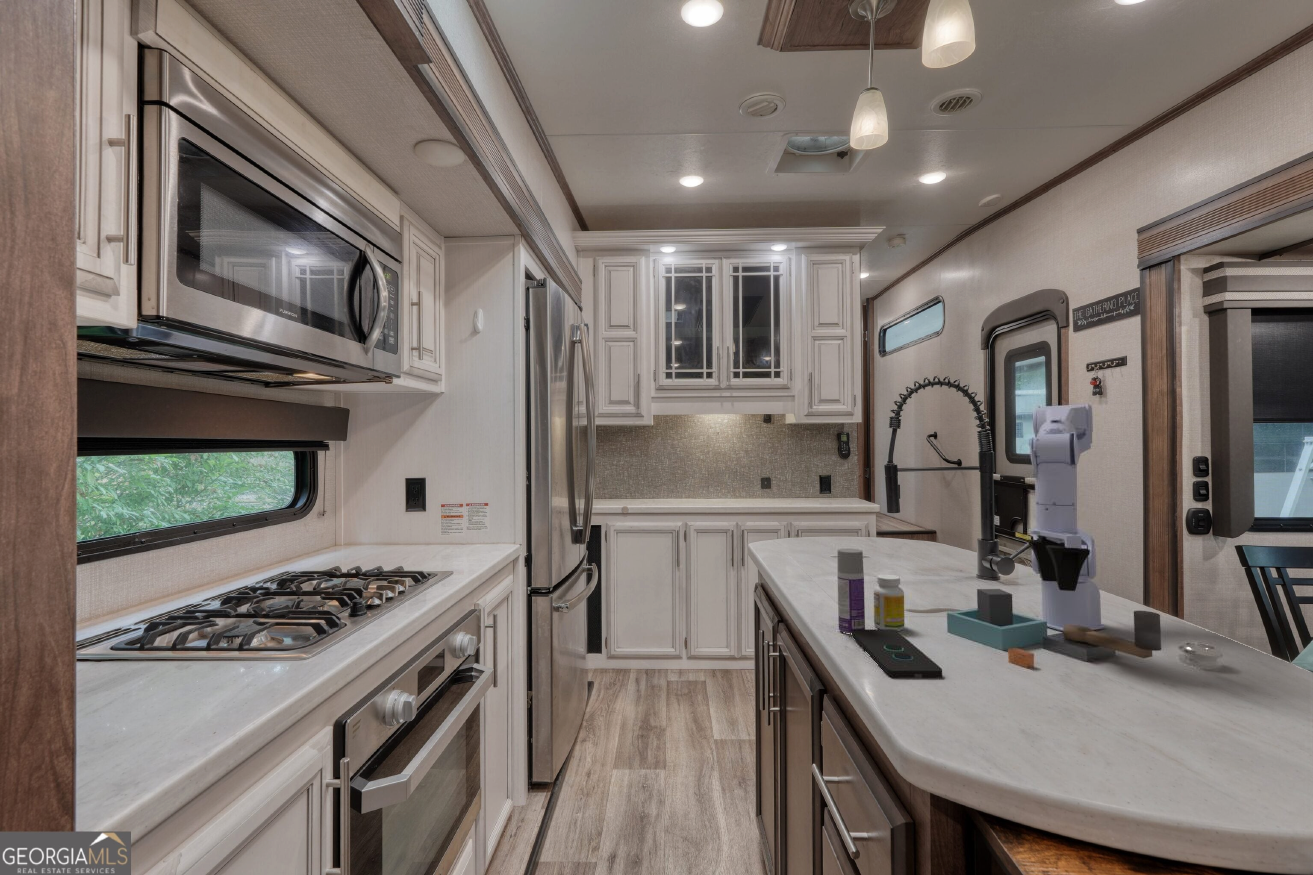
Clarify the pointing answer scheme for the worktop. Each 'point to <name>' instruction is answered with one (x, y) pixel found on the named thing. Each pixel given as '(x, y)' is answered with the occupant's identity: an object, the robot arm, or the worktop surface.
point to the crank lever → (1143, 646)
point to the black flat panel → (896, 654)
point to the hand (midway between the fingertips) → (1058, 585)
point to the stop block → (995, 607)
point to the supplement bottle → (889, 603)
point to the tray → (997, 630)
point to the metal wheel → (1200, 655)
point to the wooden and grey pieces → (1062, 650)
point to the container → (850, 590)
